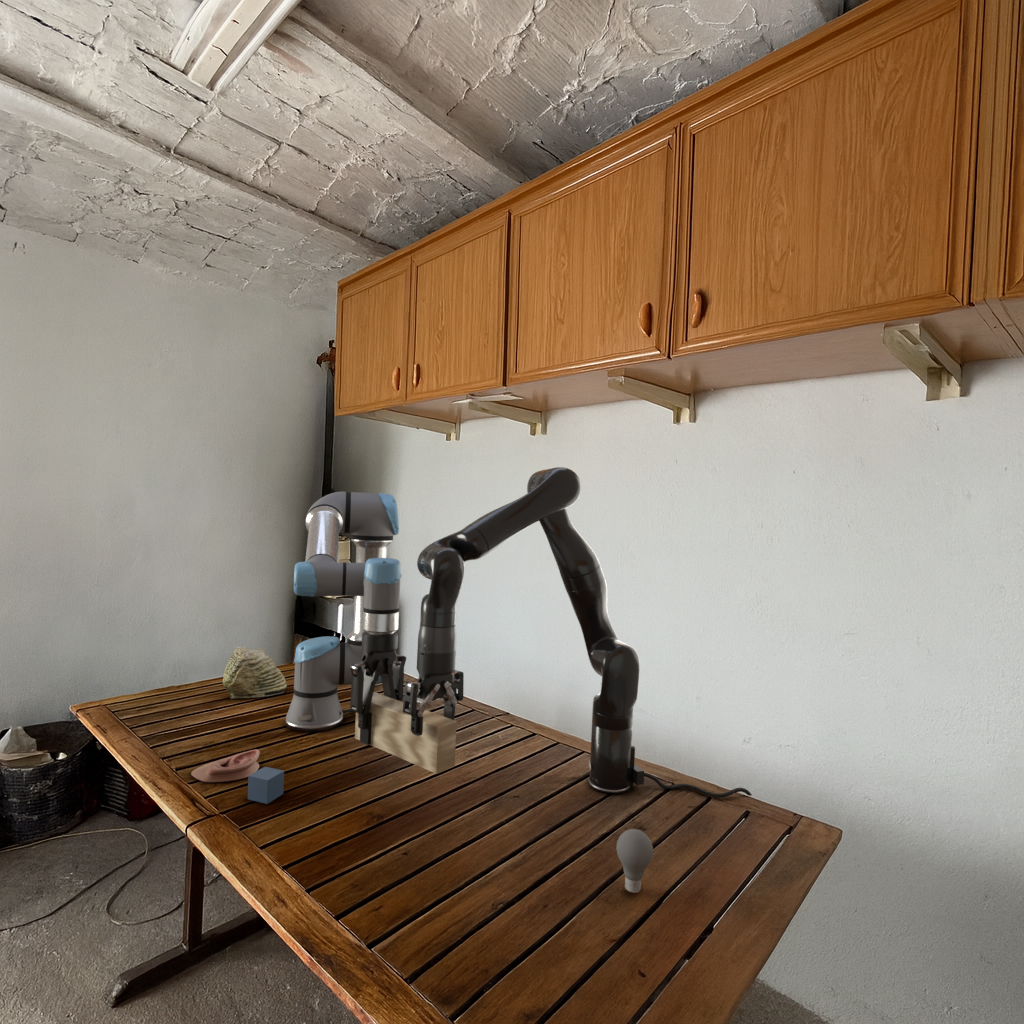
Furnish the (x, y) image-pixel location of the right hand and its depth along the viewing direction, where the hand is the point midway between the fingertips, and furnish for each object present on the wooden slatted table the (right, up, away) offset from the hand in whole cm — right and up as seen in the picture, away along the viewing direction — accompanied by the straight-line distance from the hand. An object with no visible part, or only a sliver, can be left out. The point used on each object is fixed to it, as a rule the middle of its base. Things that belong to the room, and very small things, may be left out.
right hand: (432, 728), depth 125 cm
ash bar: (-7, -7, +5) cm, 11 cm away
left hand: (-14, -6, +11) cm, 18 cm away
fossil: (-65, -15, +73) cm, 99 cm away
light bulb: (+36, -21, -19) cm, 45 cm away
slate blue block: (-36, -17, +8) cm, 41 cm away
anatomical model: (-49, -16, +18) cm, 55 cm away
